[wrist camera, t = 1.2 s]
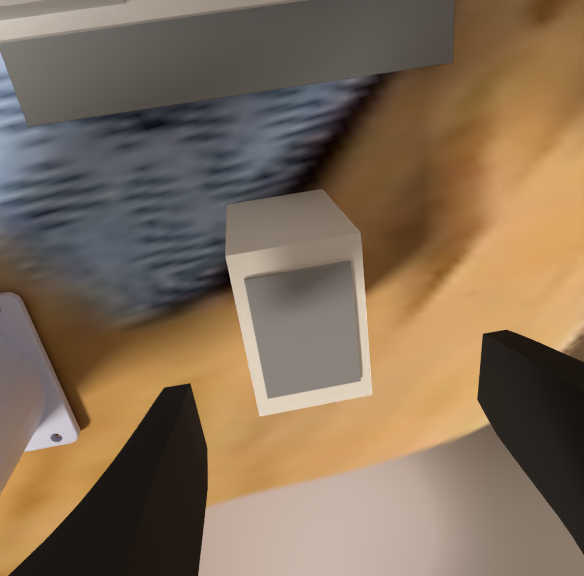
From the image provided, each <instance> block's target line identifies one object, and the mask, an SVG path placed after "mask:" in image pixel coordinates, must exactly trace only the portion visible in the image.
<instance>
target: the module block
mask: <svg viewBox="0 0 584 576" xmlns="http://www.w3.org/2000/svg"><path fill="white" fill-rule="evenodd" d="M225 257H226V262H227V266H228V271H229V276H230V280H231V285H232V290H233V294H234V299H235V304H236V308H237V313H238V318H239V322H240V327H241V332H242V336H243V341H244V346H245V351H246V355H247V360H248V365H249V369H250V374H251V379H252V383H253V388H254V393H255V397H256V402H257V407H258V411H259V416H265V415H270V414H275V413H281V412H286V411H291V410H296V409H301V408H307V407H312V406H317V405H322V404H327V403H332V402H338V401H343V400H348V399H353V398H358V397H364V396H369V395H372V383H371V369H370V355H369V341H368V326H367V312H366V298H365V283H364V269H363V255H362V241H361V232H360V231H359V230H358V229H357V228H356V227H355V225H354V224H353V223H352V222H351V221H350V220H349V219H348V217H347V216H346V215H345V214H344V213H343V212H342V210H341V209H340V208H339V207H338V206H337V205H336V204H335V202H334V201H333V200H332V199H331V198H330V197H329V196H328V194H327V193H326V192H325V191H324V190H323V189H319V190H313V191H307V192H301V193H294V194H288V195H282V196H276V197H270V198H264V199H258V200H252V201H246V202H240V203H234V204H228V205H227V208H226V249H225Z"/></svg>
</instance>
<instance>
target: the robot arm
mask: <svg viewBox="0 0 584 576" xmlns="http://www.w3.org/2000/svg"><path fill="white" fill-rule="evenodd" d="M0 307H1V310H0V494H1V492H2V490H3V489H4V487H5V485H6V483H7V481H8V480H9V478H10V476H11V474H12V472H13V471H14V469H15V467H16V465H17V463H18V462H19V460H20V458H21V456H22V454H23V453H24V452H27V451H32V450H37V449H42V448H48V447H53V446H58V445H63V444H68V443H72V442H75V441H76V440H77V439H78V437H79V434H80V428H79V426H78V423H77V421H76V419H75V417H74V414H73V412H72V410H71V408H70V405H69V403H68V401H67V399H66V396H65V394H64V392H63V390H62V387H61V385H60V383H59V381H58V379H57V376H56V374H55V372H54V370H53V367H52V365H51V363H50V361H49V358H48V356H47V354H46V352H45V349H44V347H43V345H42V343H41V340H40V338H39V336H38V334H37V332H36V329H35V327H34V325H33V323H32V320H31V318H30V316H29V314H28V311H27V309H26V307H25V305H24V302H23V300H22V299H21V298H20V297H19V296H18V295H17V294H15V293H12V292H4V293H0ZM477 400H478V402H479V403H480V405H481V407H482V409H483V411H484V413H485V415H486V416H487V418H488V420H489V422H490V423H491V425H492V426H493V428H494V430H495V432H496V434H497V435H498V437H499V438H500V439H501V441H502V442H503V444H504V445H505V446H506V448H507V449H508V450H509V452H510V453H511V454H512V456H513V457H514V458H515V460H516V461H517V462H518V464H519V465H520V466H521V468H522V469H523V470H524V472H525V473H526V474H527V476H528V477H529V478H530V480H531V481H532V482H533V483H534V485H535V486H536V488H537V489H538V490H539V491H540V493H541V494H542V495H543V497H544V498H545V499H546V501H547V502H548V503H549V505H550V506H551V507H552V509H553V510H554V511H555V513H556V514H557V515H558V517H559V518H560V519H561V521H562V522H563V524H564V525H565V527H566V528H567V529H568V531H569V532H570V534H571V535H572V536H573V538H574V540H575V541H576V543H577V545H578V546H579V548H580V549H581V551H582V553H583V554H584V362H582V361H580V360H577V359H575V358H573V357H571V356H568V355H566V354H564V353H561V352H559V351H557V350H555V349H552V348H550V347H548V346H546V345H543V344H541V343H539V342H536V341H534V340H532V339H529V338H527V337H525V336H522V335H520V334H517V333H514V332H512V331H509V330H503V331H497V332H491V333H485V334H483V339H482V351H481V363H480V375H479V387H478V399H477ZM55 434H59V435H61V436H56V435H55ZM207 490H208V464H207V445H206V441H205V437H204V434H203V430H202V426H201V422H200V418H199V415H198V411H197V407H196V403H195V399H194V396H193V392H192V388H191V384H190V383H189V384H184V385H178V386H172V387H166V388H164V389H163V390H162V392H161V393H160V394H159V396H158V397H157V399H156V400H155V402H154V403H153V405H152V406H151V408H150V409H149V411H148V412H147V414H146V415H145V417H144V418H143V420H142V421H141V423H140V424H139V426H138V427H137V429H136V430H135V431H134V433H133V434H132V436H131V437H130V438H129V440H128V441H127V443H126V444H125V445H124V447H123V448H122V450H121V451H120V452H119V454H118V455H117V457H116V458H115V459H114V461H113V462H112V463H111V464H110V466H109V467H108V468H107V470H106V471H105V472H104V473H103V475H102V476H101V477H100V478H99V480H98V481H97V482H96V483H95V485H94V486H93V487H92V489H91V490H90V491H89V492H88V493H87V495H86V496H85V497H84V498H83V499H82V501H81V502H80V503H79V504H78V505H77V506H76V508H75V509H74V510H73V511H72V512H71V513H70V514H69V515H68V516H67V517H66V518H65V520H64V521H63V522H62V523H61V524H60V525H59V526H58V527H57V528H56V529H55V530H54V531H53V533H52V534H51V535H50V536H49V537H48V538H47V539H46V540H45V541H44V542H43V543H42V544H41V545H40V546H39V547H38V548H37V549H36V550H34V551H33V552H32V553H31V554H30V555H29V556H28V557H27V558H26V559H25V560H24V561H23V562H22V563H21V564H20V565H19V566H18V567H17V568H16V569H15V570H14V571H13V572H12V573H11V574H10V575H8V576H198V571H199V563H200V562H199V561H200V554H201V545H202V536H203V527H204V518H205V509H206V500H207Z"/></svg>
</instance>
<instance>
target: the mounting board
mask: <svg viewBox="0 0 584 576" xmlns="http://www.w3.org/2000/svg"><path fill="white" fill-rule="evenodd" d="M453 37H454V0H0V52H1V54H2V57H3V60H4V63H5V65H6V68H7V71H8V73H9V76H10V79H11V81H12V84H13V87H14V90H15V92H16V95H17V98H18V100H19V103H20V106H21V108H22V111H23V114H24V117H25V119H26V122H27V125H28V127H30V126H37V125H43V124H50V123H57V122H63V121H70V120H76V119H83V118H90V117H96V116H103V115H110V114H116V113H123V112H129V111H136V110H143V109H149V108H156V107H163V106H169V105H176V104H182V103H189V102H196V101H202V100H209V99H216V98H222V97H229V96H235V95H242V94H249V93H255V92H262V91H269V90H275V89H282V88H288V87H295V86H302V85H308V84H315V83H322V82H328V81H335V80H341V79H348V78H355V77H361V76H368V75H375V74H381V73H388V72H394V71H401V70H408V69H414V68H421V67H428V66H434V65H441V64H447V63H453Z"/></svg>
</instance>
